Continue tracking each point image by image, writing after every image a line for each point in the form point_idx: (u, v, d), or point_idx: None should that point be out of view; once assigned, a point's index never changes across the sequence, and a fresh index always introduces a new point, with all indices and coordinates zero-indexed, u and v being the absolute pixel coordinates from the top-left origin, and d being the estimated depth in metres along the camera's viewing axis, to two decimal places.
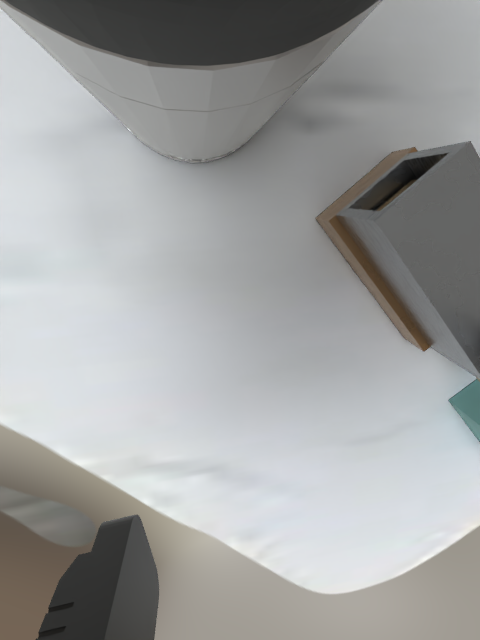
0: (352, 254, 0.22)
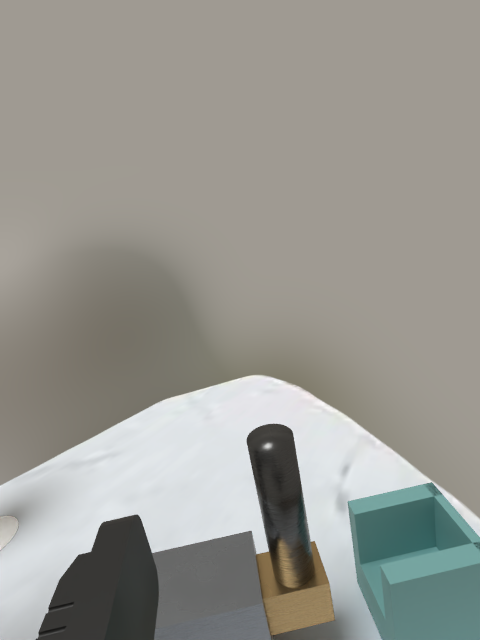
0: None
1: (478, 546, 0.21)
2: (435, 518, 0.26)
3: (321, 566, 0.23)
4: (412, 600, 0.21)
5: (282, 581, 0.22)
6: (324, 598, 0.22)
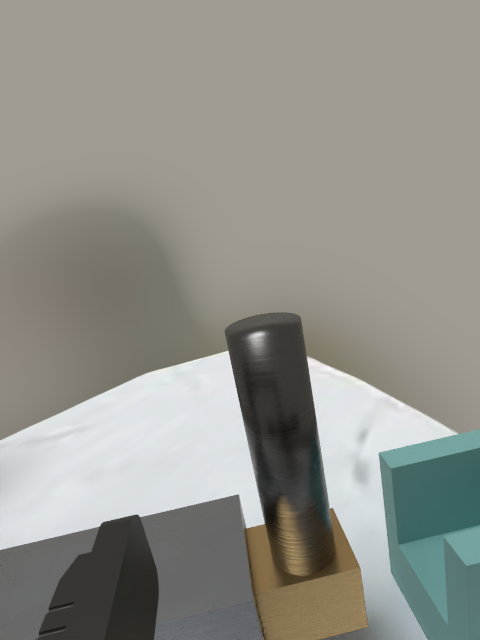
0: None
1: None
2: None
3: (345, 543, 0.15)
4: None
5: (285, 566, 0.14)
6: (352, 592, 0.14)
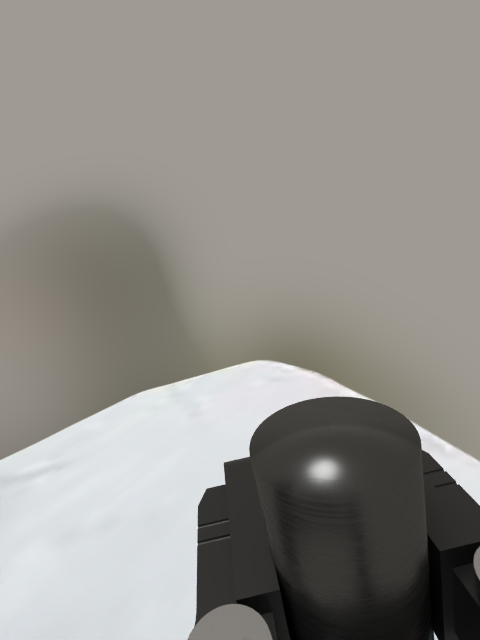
0: None
1: None
2: None
3: None
4: None
5: None
6: None
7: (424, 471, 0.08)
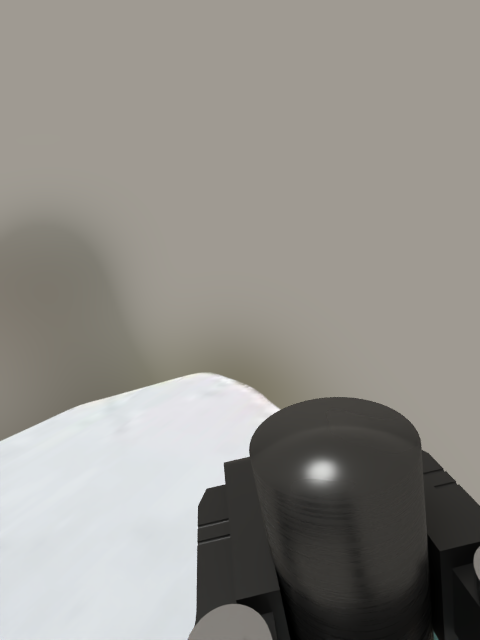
0: None
1: None
2: None
3: None
4: None
5: None
6: None
7: (424, 471, 0.08)
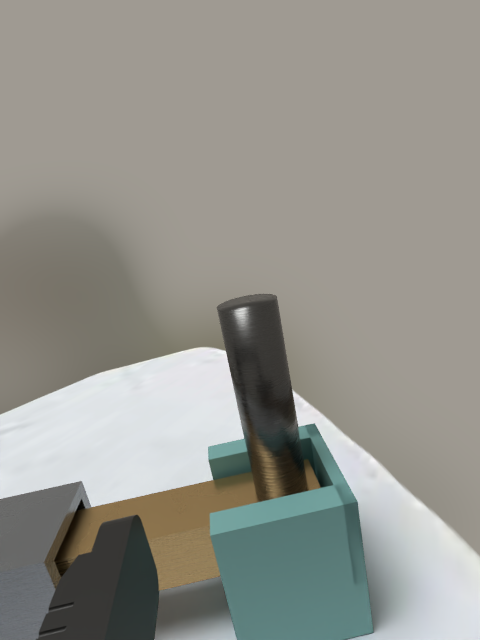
0: None
1: (338, 488, 0.16)
2: (315, 466, 0.21)
3: (316, 482, 0.18)
4: (245, 558, 0.16)
5: (266, 498, 0.18)
6: None
7: None
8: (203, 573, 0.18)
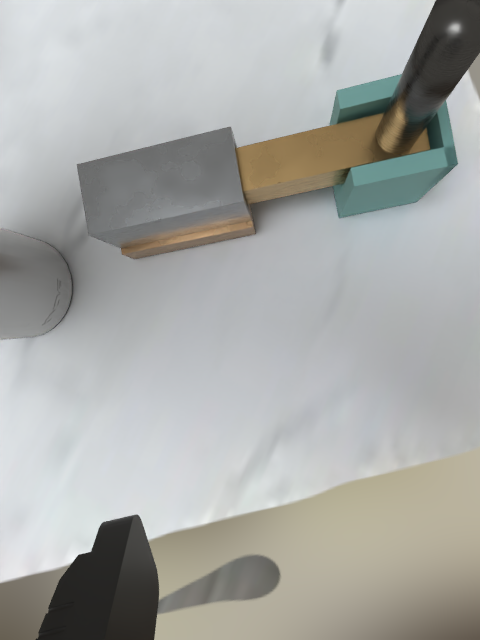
0: (151, 248, 0.31)
1: (447, 151, 0.23)
2: None
3: (425, 132, 0.24)
4: (368, 190, 0.25)
5: (387, 148, 0.24)
6: None
7: None
8: (327, 185, 0.27)
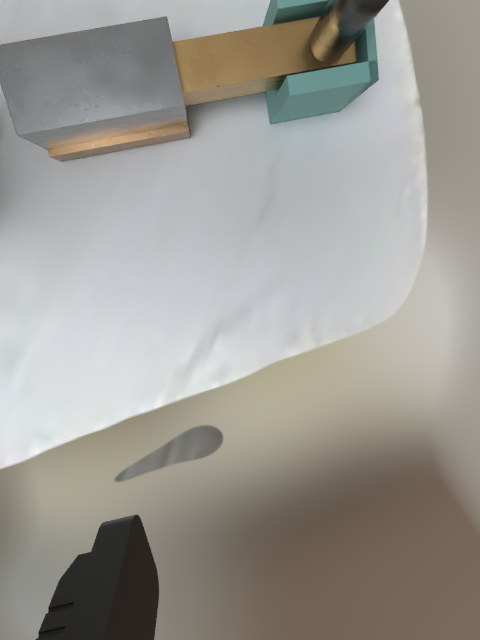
0: (83, 150, 0.29)
1: (370, 65, 0.25)
2: None
3: (353, 43, 0.26)
4: (301, 100, 0.27)
5: (319, 57, 0.25)
6: None
7: None
8: (262, 90, 0.28)
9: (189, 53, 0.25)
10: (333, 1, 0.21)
